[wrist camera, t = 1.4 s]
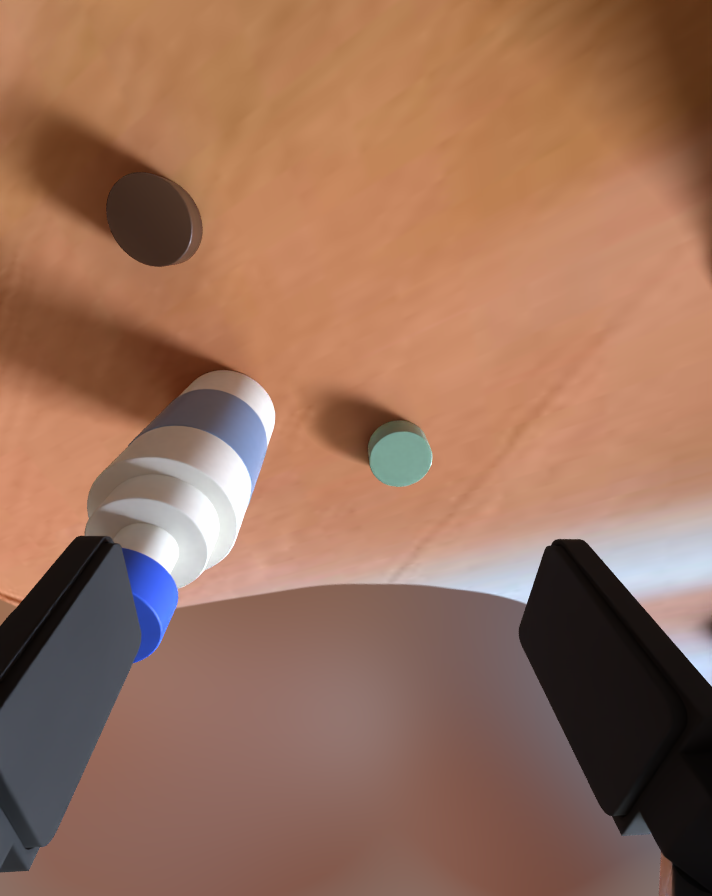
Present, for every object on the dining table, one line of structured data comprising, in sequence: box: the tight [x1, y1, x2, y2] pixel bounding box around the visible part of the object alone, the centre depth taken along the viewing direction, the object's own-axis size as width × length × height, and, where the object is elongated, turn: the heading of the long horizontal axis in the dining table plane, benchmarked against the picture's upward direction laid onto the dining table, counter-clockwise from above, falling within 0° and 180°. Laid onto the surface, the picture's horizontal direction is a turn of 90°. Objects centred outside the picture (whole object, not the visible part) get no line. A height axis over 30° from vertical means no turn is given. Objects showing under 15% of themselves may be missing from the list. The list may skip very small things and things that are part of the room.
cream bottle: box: [85, 370, 275, 663], centre depth 24 cm, size 7×7×20 cm
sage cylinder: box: [368, 420, 432, 487], centre depth 34 cm, size 5×5×2 cm
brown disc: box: [106, 172, 202, 267], centre depth 26 cm, size 5×5×2 cm
